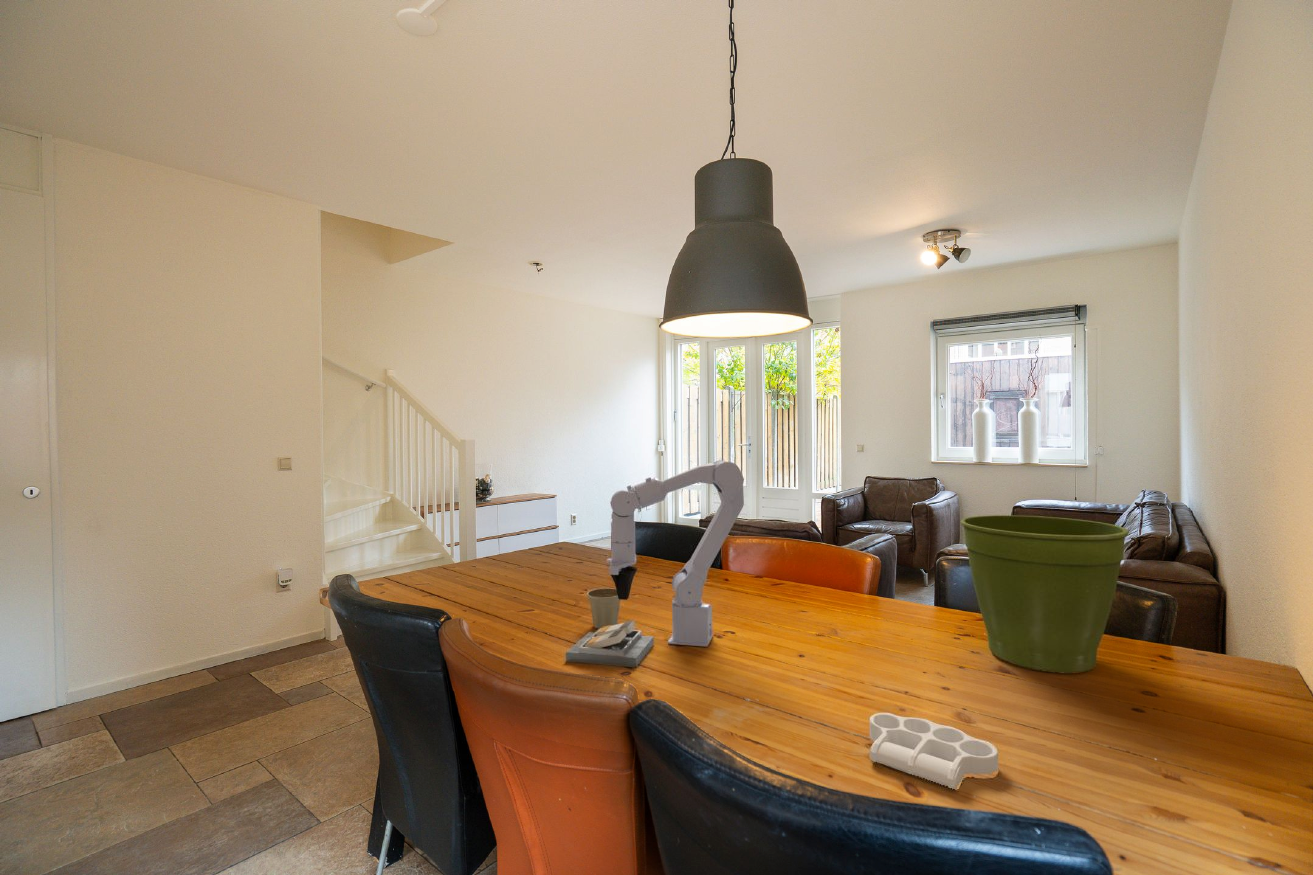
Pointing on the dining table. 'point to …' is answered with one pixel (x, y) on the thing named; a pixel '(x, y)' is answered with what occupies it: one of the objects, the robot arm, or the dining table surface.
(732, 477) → the robot arm
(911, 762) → the knuckle duster
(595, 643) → the breaker
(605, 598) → the flower pot
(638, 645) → the panel
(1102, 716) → the dining table surface
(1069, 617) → the plant pot
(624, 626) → the block
